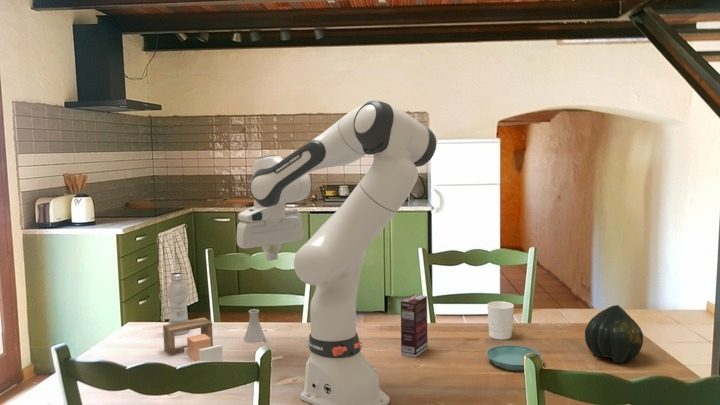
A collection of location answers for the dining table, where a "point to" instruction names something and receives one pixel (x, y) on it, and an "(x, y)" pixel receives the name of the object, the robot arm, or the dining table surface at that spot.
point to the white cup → (500, 319)
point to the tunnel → (184, 326)
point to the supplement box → (414, 325)
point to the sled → (207, 354)
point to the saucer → (509, 356)
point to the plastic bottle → (177, 300)
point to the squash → (614, 335)
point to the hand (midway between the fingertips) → (272, 259)
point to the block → (197, 345)
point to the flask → (254, 329)
